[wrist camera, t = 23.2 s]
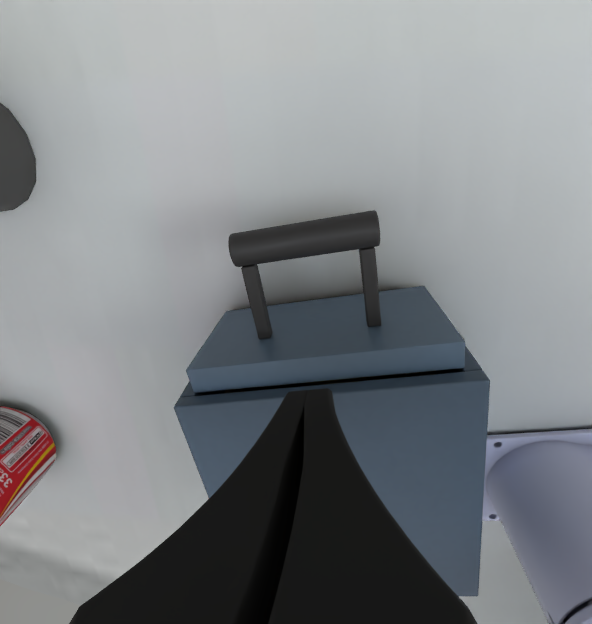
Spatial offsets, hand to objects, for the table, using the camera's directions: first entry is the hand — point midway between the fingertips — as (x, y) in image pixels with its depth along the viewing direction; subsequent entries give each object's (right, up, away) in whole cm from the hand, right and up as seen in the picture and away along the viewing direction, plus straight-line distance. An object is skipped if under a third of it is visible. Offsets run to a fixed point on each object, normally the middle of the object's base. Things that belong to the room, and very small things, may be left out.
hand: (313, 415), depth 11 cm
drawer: (+1, +1, +10) cm, 10 cm away
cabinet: (+2, -3, +12) cm, 13 cm away
